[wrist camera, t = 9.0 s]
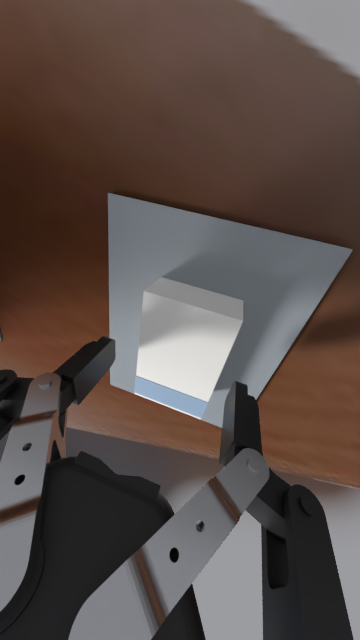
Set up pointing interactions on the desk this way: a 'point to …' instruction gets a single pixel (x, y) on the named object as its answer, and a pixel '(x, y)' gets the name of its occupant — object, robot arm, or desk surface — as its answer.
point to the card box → (184, 344)
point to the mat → (215, 285)
